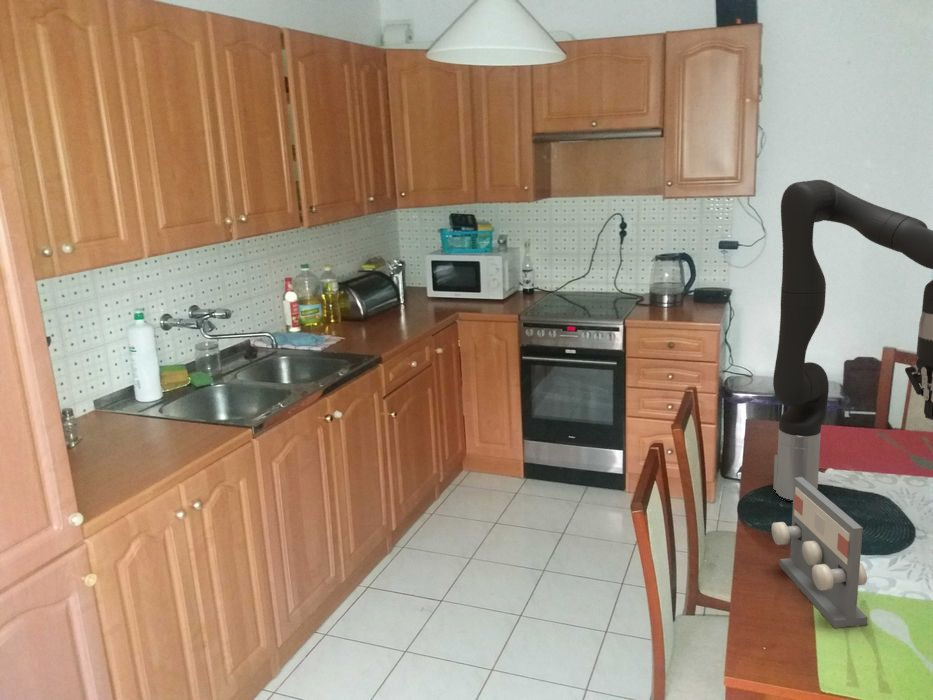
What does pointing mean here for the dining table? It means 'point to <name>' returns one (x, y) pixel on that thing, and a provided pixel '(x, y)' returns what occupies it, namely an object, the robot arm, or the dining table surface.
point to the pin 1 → (785, 532)
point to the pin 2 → (833, 576)
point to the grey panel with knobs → (826, 554)
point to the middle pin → (812, 552)
